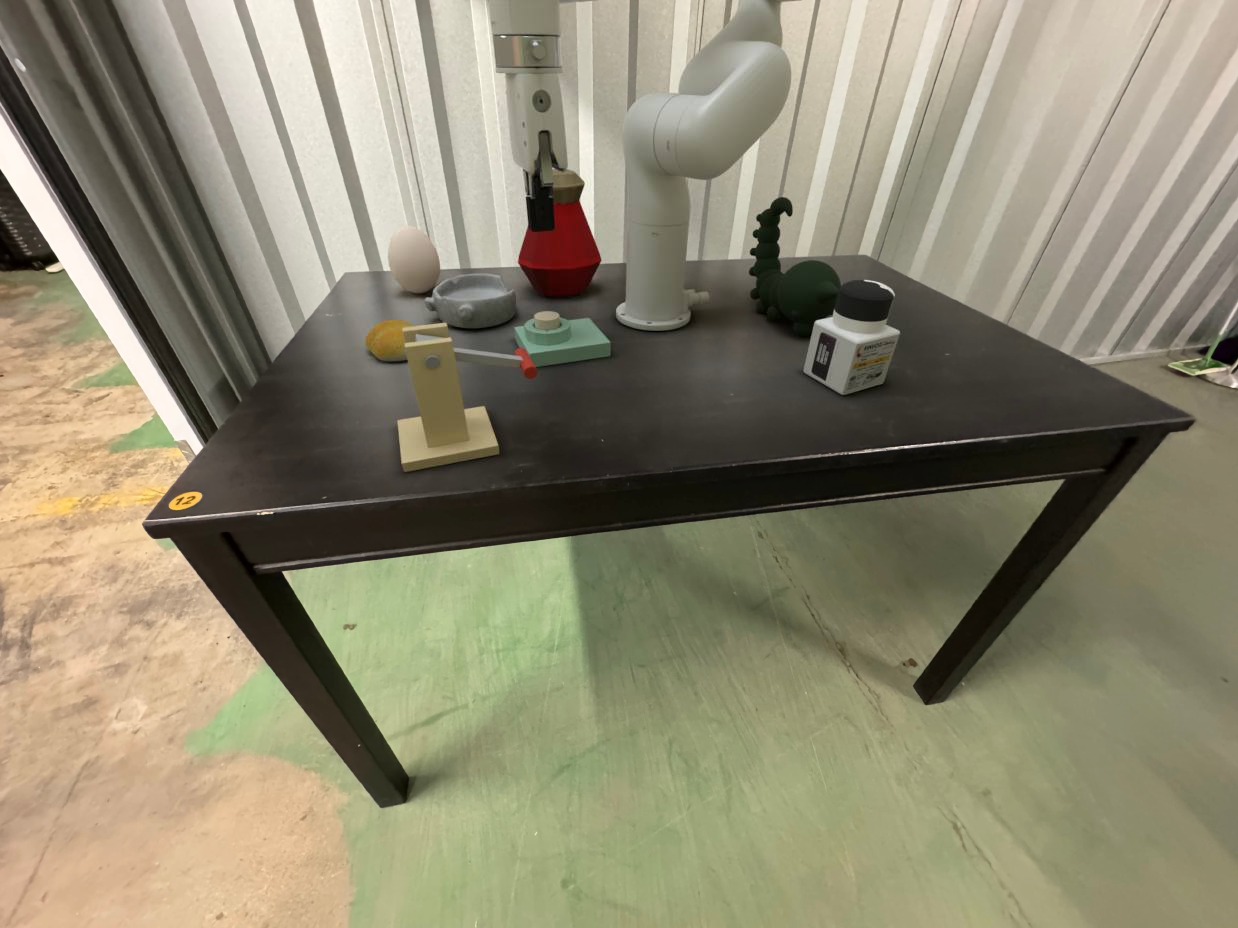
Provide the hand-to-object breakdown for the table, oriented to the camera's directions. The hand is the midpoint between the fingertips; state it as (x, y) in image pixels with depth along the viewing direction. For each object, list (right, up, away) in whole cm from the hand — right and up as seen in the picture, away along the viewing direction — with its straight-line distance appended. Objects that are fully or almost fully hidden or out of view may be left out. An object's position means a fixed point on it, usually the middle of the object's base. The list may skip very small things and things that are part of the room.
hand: (541, 229), depth 73 cm
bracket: (-9, -28, -10) cm, 32 cm away
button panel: (+2, -14, +10) cm, 17 cm away
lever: (-5, -21, -14) cm, 26 cm away
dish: (-14, -6, +20) cm, 25 cm away
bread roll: (-22, -14, +9) cm, 28 cm away
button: (0, -11, +7) cm, 13 cm away
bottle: (-1, +2, +31) cm, 31 cm away
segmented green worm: (+38, -7, +21) cm, 44 cm away
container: (+41, -19, +4) cm, 46 cm away
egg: (-26, +1, +29) cm, 39 cm away
